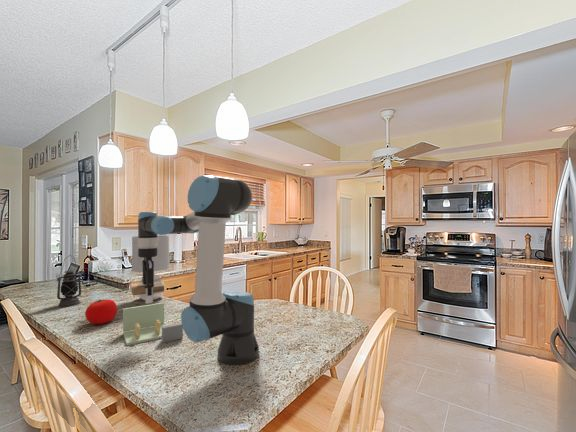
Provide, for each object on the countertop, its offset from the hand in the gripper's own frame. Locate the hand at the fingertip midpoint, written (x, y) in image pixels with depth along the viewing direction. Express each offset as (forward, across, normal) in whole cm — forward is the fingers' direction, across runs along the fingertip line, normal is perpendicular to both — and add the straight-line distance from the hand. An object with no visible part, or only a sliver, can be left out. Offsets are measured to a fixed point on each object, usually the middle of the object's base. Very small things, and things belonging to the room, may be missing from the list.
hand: (147, 301), depth 126 cm
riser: (+15, -9, -8) cm, 20 cm away
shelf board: (-4, 0, 0) cm, 4 cm away
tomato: (+16, +33, +16) cm, 40 cm away
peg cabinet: (+15, +3, 0) cm, 16 cm away
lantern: (+16, +83, +31) cm, 90 cm away
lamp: (+16, +68, -12) cm, 71 cm away
